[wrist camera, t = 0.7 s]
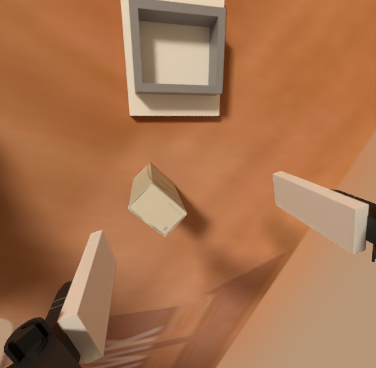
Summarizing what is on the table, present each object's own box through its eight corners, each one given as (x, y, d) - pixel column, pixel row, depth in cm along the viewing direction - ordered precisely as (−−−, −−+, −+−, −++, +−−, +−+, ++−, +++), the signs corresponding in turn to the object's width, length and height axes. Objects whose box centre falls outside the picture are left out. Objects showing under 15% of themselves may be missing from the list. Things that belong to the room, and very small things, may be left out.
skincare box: (174, 184, 38) (190, 213, 26) (157, 202, 38) (165, 238, 27) (148, 160, 35) (153, 181, 24) (130, 179, 36) (126, 209, 24)
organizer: (130, 115, 33) (128, 115, 28) (120, -13, 28) (116, -39, 23) (216, 115, 35) (227, 115, 31) (220, 0, 31) (235, -21, 26)
